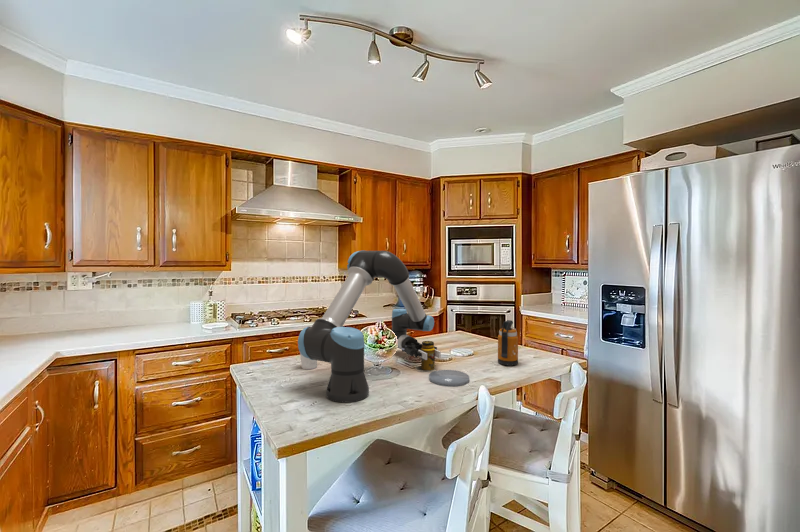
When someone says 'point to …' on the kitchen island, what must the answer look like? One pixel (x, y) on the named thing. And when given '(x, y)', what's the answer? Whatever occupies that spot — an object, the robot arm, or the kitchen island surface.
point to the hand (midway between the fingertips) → (433, 355)
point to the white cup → (308, 363)
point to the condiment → (430, 362)
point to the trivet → (449, 378)
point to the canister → (508, 344)
